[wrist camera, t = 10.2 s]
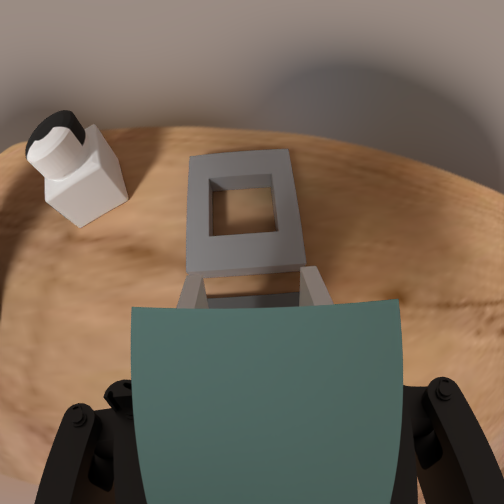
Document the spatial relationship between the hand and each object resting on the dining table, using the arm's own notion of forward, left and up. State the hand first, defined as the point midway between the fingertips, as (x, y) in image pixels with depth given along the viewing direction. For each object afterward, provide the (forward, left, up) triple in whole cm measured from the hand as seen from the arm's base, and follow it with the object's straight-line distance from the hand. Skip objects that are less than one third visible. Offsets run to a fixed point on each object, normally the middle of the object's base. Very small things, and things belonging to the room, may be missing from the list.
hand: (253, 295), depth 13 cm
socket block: (0, +10, -11) cm, 15 cm away
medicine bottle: (-17, +15, -11) cm, 25 cm away
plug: (0, -4, -6) cm, 7 cm away
